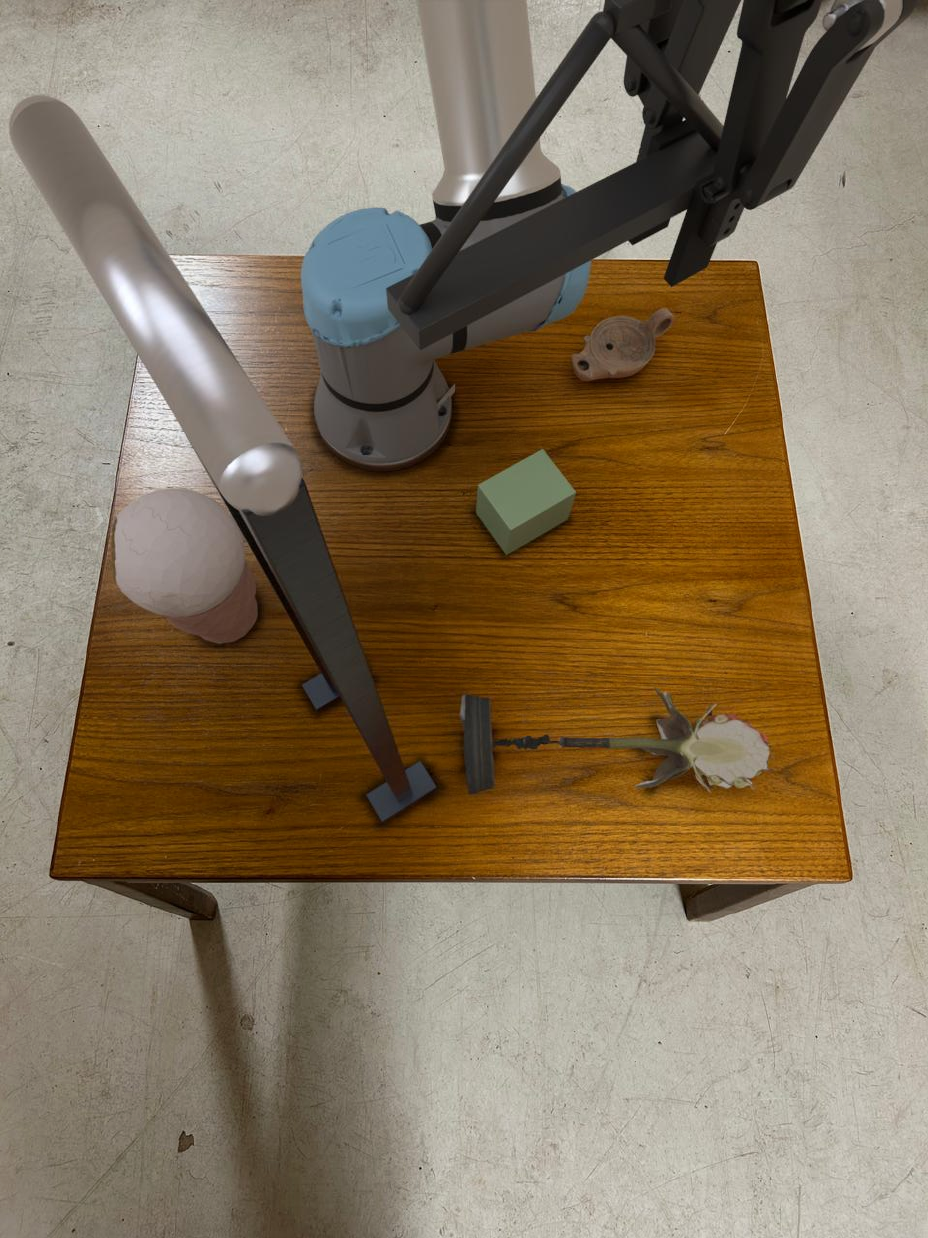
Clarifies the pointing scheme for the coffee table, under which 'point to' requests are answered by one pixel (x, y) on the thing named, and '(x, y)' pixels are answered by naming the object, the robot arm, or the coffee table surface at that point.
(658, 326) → the oil lamp
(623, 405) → the coffee table surface
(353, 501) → the coffee table surface
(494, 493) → the block
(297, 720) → the coffee table surface
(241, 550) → the ice cream cone
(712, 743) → the ornament
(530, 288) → the hanger
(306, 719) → the coffee table surface
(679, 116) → the robot arm
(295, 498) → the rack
